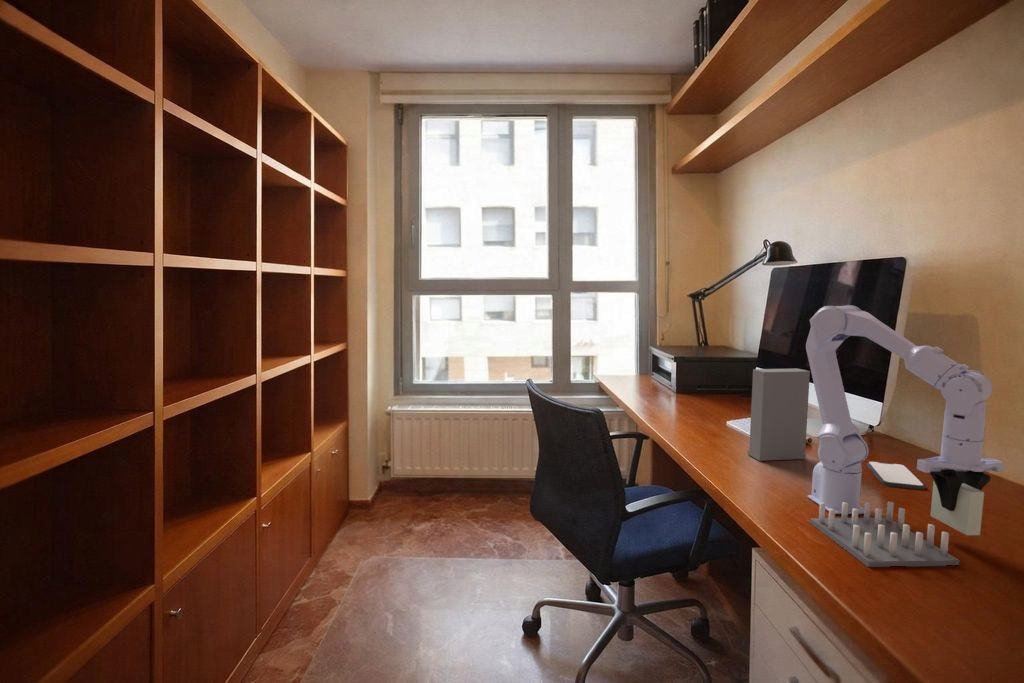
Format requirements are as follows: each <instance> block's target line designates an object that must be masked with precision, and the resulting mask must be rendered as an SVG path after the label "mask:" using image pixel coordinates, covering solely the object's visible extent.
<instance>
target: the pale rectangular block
mask: <svg viewBox="0 0 1024 683" xmlns="http://www.w3.org/2000/svg"><path fill="white" fill-rule="evenodd" d="M984 498H985V491H982V490H981V491H980V490H978V489H976V488H973V487H971V486H969V485H966V484H964V483H962V485H961V487H960V489H959V492H958V496H957V503H956V507H955V510H954V511H950V510H948V509H946V508H944V507H942V505H941V500H940V496H939V492H938V489H937V486H936V484H935V481H934V480H933V482H932V495H931V506H930V515H929V516H930V517H932V518H933V519H936V520H937V521H939V522H940V523H943V524H945V525H947V526H948V527H950V528H952V529H954V530H956V531H958V532H959V533H962V534H963V535H965V536H980V535H981V528H982V527H981V526H982V519H983V518H982V517H983V508H984Z"/></svg>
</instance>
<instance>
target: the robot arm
mask: <svg viewBox="0 0 1024 683" xmlns="http://www.w3.org/2000/svg"><path fill="white" fill-rule="evenodd" d="M809 323H810V324H809V325H810V330H809V333H808V336H807V339H806V343H805V350H806V355H807V359H808V363H809V368H810V374H811V378H812V381H813V385H814V386H813V387H814V390H815V394H816V398H817V404H818V409H819V413H820V417H821V422H822V427H821V429H820V430H819V434H818V435H817V436H818V440H819V442H818V443H819V445H818V447H817V448H818V449H817V456H818V459H819V462H817V464H815V466H814V468H813V470H812V480H811V481H812V482H811V494H808V495H807V498H809V499H810V500H811V501H813V502H814V503H816V504H817V505H819V506H820V502H823V503H825V504H826V505H825V511H827V512H829V509H834V510H835V515H842V502H846V503H848V515H852V509H853V508H855V509H858V510H859V511H858V515H864V509H865V507H862V506H860V501H861V500H860V499H861V498H860V497H861V485H862V472H863V468H862V462H863V461H865V460H867V457H868V455H869V446H868V444H867V442H866V441H865V440H864V439H863V437H862V435H861V432H860V429H859V428H858V427H857V425H855V423H853V421H852V419H851V418H852V417H851V414H850V409H849V406H848V401H847V397H846V393H845V388H844V385H843V379H842V375H841V371H840V367H839V363H838V362H839V361H838V358H837V353H836V351H837V349H838V348H839V347H840V346H841V345H842V343H843V342H844V341H845V340H846V339H848V338H849V337H851V336H853V337H865V338H867V339H869V340H871V341H872V342H874V343H876V344H877V345H879V346H880V347H883V348H884V349H886V350H888V351H890V352H891V353H892V354H895V355H896V356H898V357H899V358H901V359H902V360H903V361H904V362H903V363H904V366H905V369H906V370H908V371H909V372H911V373H912V374H914V375H915V376H917V377H918V378H920V379H921V380H923V381H924V382H926V383H927V384H929V385H931V386H932V387H934V389H935V388H936V390H940V394H941V397H943V398H944V400H945V409H944V414H943V415H944V416H943V423H942V425H943V427H942V435H941V436H942V437H941V447H940V454H939V455H938V456H933V457H929V458H920V459H919V458H917V461H916V462H917V464H916V470H918V471H920V472H923V473H926V474H930V475H931V478H932V480H933V481H935V484H936V486H937V489H938V492H939V496H940V500H941V505H942V507H944V508H946V509H948V510H950V511H954V510H955V507H956V503H957V496H958V492H959V489H960V487H961V485H962V483H964V484H966V485H969V486H971V487H973V488H976V489H978V490H980V491H982V490H983V488H984V487H986V486H987V484H988V483H990V482H991V476H990V475H989V474H987V473H984V472H995V473H1003V468H1004V462H1003V461H1001V460H998V459H995V458H984V457H983V456H982V455H983V447H984V445H983V444H984V437H985V426H986V418H987V417H986V412H987V411H986V409H987V401H986V400H988V399H989V398H990V397H991V395H992V393H993V390H994V387H993V382H992V380H990V379H989V377H987V376H986V375H985V374H984V373H983V372H981V371H979V370H973V369H972V370H971V369H970V370H969V368H970V366H968V365H967V364H965V363H961V364H960V363H959V362H957V361H956V360H954V359H952V358H950V357H949V356H947V355H945V354H944V353H943V352H944V350H943V349H942V348H941V347H939V346H934V347H932V346H931V345H920V346H918V345H916V344H914V343H913V342H912V341H910V340H908V339H907V338H906V337H904V336H903V335H901V334H900V333H898V332H897V331H895V330H894V329H892V328H891V327H890V326H888V325H887V324H885V323H883V322H882V321H880V320H879V319H878V318H876V317H875V316H874V315H872V314H871V313H869V312H867V311H866V310H861V308H859V307H858V306H855V305H851V304H845V305H836V306H835V305H834V306H833V305H824V306H823V307H821V308H819V309H818V310H817V311H816V312H815V313H814V315H813V316H812V317H810V319H809ZM982 457H983V458H982Z"/></svg>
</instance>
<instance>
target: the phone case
mask: <svg viewBox="0 0 1024 683" xmlns="http://www.w3.org/2000/svg"><path fill="white" fill-rule="evenodd" d="M866 467H867V468H868V470H870V472H871V473H872V474H873V475H874V476H875V478H876V479H877V480H878V481H879V482H880V484H881V485H884V486H885V485H886V486H887V487H890V486H892V488H899V487H902V488H901V489H908V488H909V489H911V490H917V491H924V490H925V489H926V484H924V483H923V482H922V481H921V480H920V479H919V478H918V477H917V476H916V475H915V474H914V473H913V472H912V471H911V470H910V469H909V468H908V467H907V466H906V465H903V464H899V463H892V462H891V463H890V462H883V461H882V462H880V461H867V462H866Z"/></svg>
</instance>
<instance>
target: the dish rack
mask: <svg viewBox="0 0 1024 683" xmlns="http://www.w3.org/2000/svg"><path fill="white" fill-rule="evenodd" d="M825 505H826V504H825V503H823V502H820V505H819V511H818V512H819V513H818V517H817V518H816V517H815V518H814V517H811V518H809V524H811V525H812V526H813V527H814V528H816V529H817V530H819V531H820V532H821V533H822V534H824V535H825V536H826V537H827V538H829V539H830V540H832V541H833V542H834V541H835V542H834V543H835V544H837V545H838V544H839V545H838V546H840V547H841V548H842V547H843V548H842V549H843V550H845V551H846V550H847V551H846V552H847V553H849V554H850V555H852V556H853V557H854V558H856V559H857V560H858V561H859V562H861V563H862V564H863V565H864V566H866V567H867V568H880V567H881V568H889V567H890V566H906V567H947V566H946V565H953V566H952V567H955V566H954V565H959V566H960V559H958V558H957V557H954V556H953V555H951V554H950V553H948V551H949V539H950V538H949V537H950V533H949V532H947V531H941V538H940V547H938V546H936V545H935V544H934V540H935V529H936V525H935V524H933V523H928V524H927V532H926V539H924V533H923V532H921V531H916V532H915V533H914V532H913V531H911V526H910V525H909V524H907V523H905V516H906V508H904V507H903V508H902V507H898V512H897V513H898V515H897V522H896V521H894V520H893V516H894V515H893V514H894V501H893V502H892V501H887V503H886V516H885V517H882V514H883V513H882V512H883V509H882V508H877V507H876V508H875V510H874V511H875V514H874V517H871V509H872V508H871V507H872V503H871V502H870V501H865V502H864V514H863V517H859V514H858V511H859V510H858V509H855V508H853V509H852V514H851V517H848V515H849V514H848V503H846V502H842V514H841V517H836V514H835V510H834V509H829V511H828V517H826V509H825ZM890 568H891V567H890Z"/></svg>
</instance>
